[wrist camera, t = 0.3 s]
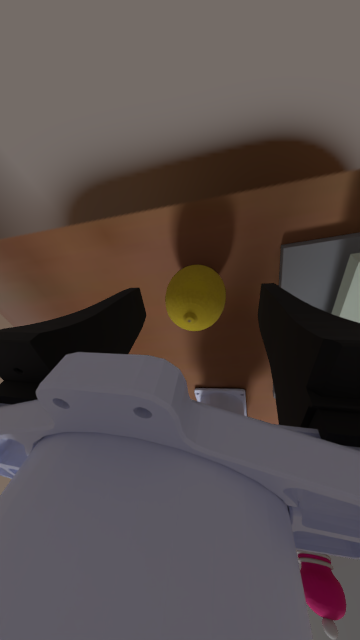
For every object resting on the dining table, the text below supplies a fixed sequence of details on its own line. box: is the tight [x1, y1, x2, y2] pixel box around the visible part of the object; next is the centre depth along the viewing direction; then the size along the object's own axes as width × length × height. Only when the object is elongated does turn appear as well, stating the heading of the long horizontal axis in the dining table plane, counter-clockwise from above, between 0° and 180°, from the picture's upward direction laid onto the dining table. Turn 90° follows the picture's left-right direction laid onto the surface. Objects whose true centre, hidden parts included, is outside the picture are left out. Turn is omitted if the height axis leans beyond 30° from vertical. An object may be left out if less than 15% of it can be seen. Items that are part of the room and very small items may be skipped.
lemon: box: [165, 265, 226, 331], centre depth 19 cm, size 6×6×8 cm
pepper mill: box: [297, 550, 346, 639], centre depth 36 cm, size 7×7×20 cm
